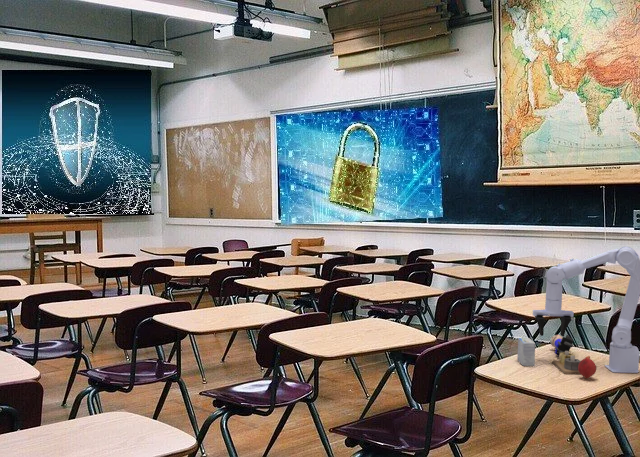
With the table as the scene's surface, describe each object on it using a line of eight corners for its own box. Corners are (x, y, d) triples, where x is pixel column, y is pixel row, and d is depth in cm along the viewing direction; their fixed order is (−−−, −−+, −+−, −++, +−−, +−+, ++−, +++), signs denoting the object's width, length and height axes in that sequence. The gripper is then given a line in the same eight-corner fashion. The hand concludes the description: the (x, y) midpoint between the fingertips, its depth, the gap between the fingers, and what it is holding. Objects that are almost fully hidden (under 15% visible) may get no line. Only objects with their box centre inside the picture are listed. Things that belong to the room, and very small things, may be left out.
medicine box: (534, 366, 268) (535, 343, 267) (522, 366, 268) (523, 342, 267) (528, 360, 276) (530, 337, 275) (516, 360, 276) (518, 337, 275)
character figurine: (555, 359, 279) (549, 349, 294) (575, 359, 278) (568, 349, 293) (555, 339, 279) (549, 330, 294) (575, 338, 278) (568, 330, 293)
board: (579, 363, 273) (580, 349, 273) (592, 374, 259) (593, 359, 259) (552, 363, 273) (552, 348, 273) (564, 374, 259) (565, 358, 259)
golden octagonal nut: (572, 362, 272) (573, 352, 271) (575, 365, 266) (576, 356, 266) (558, 361, 272) (558, 351, 272) (560, 365, 267) (561, 355, 267)
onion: (586, 381, 251) (588, 358, 250) (573, 377, 256) (575, 354, 255) (599, 379, 253) (600, 357, 253) (586, 375, 258) (587, 352, 258)
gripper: (569, 297, 277) (568, 333, 278) (531, 296, 277) (529, 332, 278) (576, 301, 270) (574, 337, 271) (536, 300, 270) (534, 336, 271)
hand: (551, 335), depth 274 cm, fingers open, 7 cm apart
